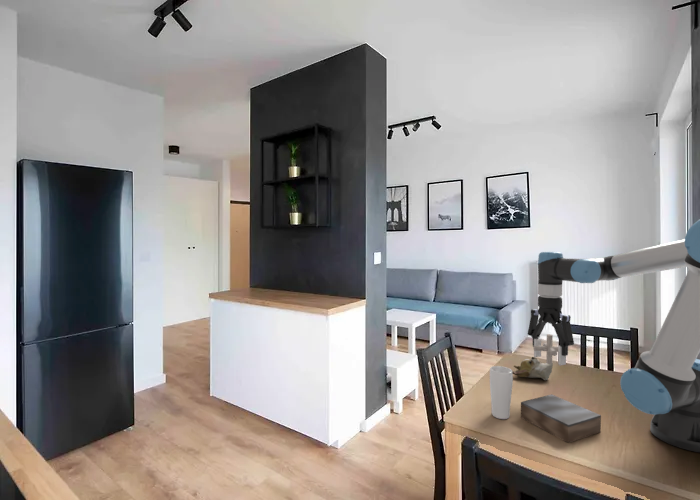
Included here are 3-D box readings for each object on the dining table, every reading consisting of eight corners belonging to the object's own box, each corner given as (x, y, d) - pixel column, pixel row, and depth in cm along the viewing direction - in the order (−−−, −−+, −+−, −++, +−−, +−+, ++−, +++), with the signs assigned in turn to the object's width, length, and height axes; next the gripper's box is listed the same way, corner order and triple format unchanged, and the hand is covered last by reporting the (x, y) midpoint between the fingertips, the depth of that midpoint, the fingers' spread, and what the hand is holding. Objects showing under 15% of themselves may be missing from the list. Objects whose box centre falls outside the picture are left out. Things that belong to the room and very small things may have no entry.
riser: (600, 432, 110) (601, 415, 110) (568, 442, 104) (568, 425, 104) (551, 409, 125) (551, 394, 125) (520, 417, 119) (520, 401, 119)
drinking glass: (485, 415, 121) (485, 368, 120) (496, 409, 125) (496, 364, 124) (505, 423, 115) (506, 374, 115) (516, 416, 120) (516, 369, 119)
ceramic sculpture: (552, 362, 145) (510, 358, 152) (553, 385, 145) (511, 380, 152) (552, 355, 154) (513, 351, 161) (554, 376, 154) (514, 372, 161)
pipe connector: (570, 368, 126) (570, 339, 126) (538, 367, 128) (538, 337, 128) (560, 359, 136) (560, 332, 136) (530, 358, 138) (530, 330, 138)
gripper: (587, 299, 123) (586, 368, 124) (531, 291, 143) (530, 351, 143) (572, 301, 120) (571, 371, 121) (516, 293, 140) (516, 353, 140)
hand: (549, 360), depth 132 cm, fingers closed on pipe connector, 9 cm apart
